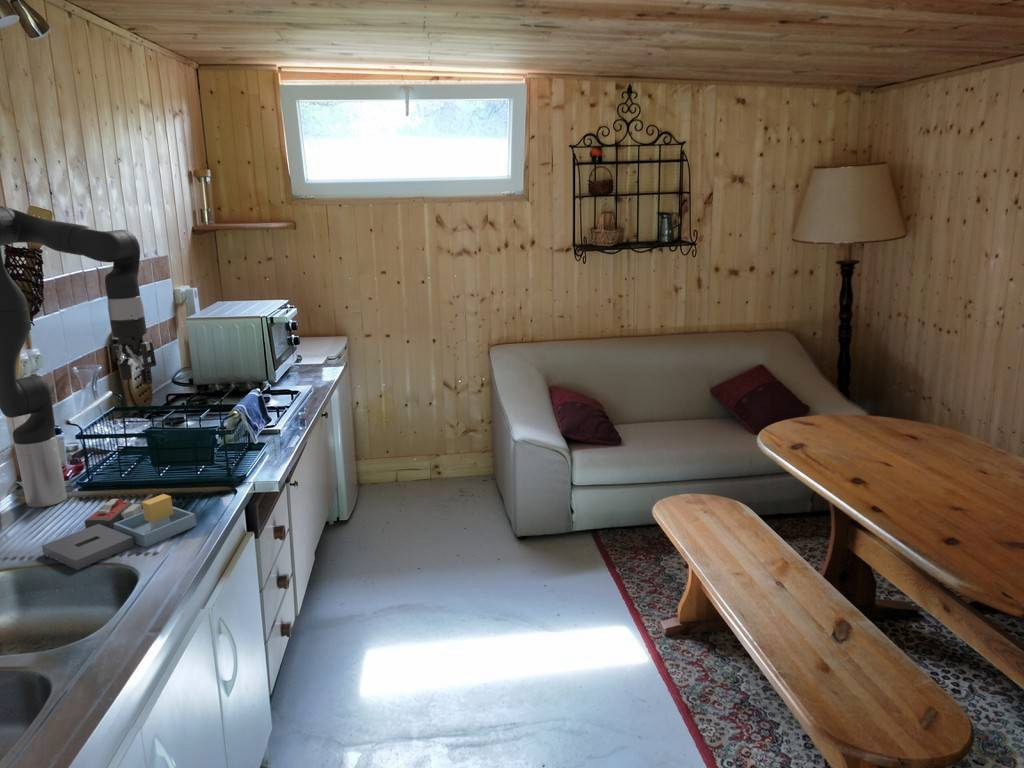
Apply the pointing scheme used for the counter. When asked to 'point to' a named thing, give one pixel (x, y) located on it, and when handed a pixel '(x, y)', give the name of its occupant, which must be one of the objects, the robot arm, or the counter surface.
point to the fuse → (158, 511)
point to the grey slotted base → (88, 546)
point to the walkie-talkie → (114, 512)
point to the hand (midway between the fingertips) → (137, 381)
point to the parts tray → (147, 537)
